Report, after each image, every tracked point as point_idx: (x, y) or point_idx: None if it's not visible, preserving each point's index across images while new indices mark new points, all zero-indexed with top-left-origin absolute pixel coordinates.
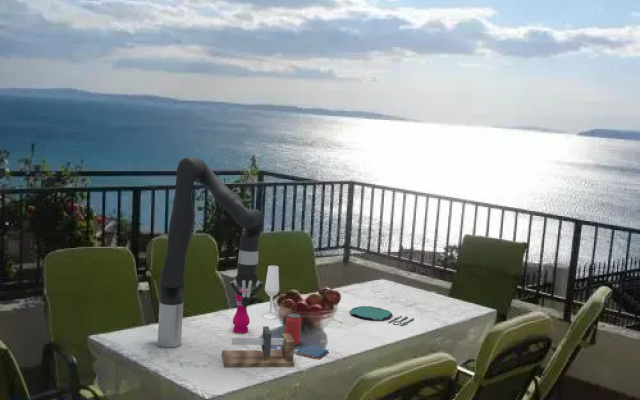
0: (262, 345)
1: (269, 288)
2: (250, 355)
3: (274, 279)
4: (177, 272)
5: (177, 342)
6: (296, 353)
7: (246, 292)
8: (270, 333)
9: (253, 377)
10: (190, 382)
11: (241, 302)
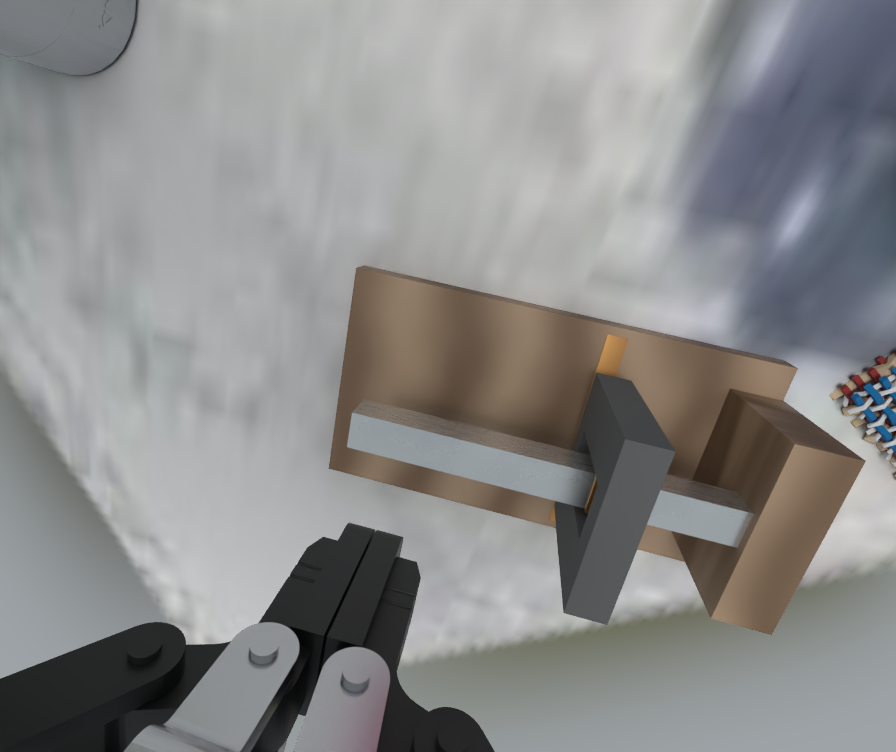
0: (593, 402)
1: None
2: (502, 397)
3: None
4: None
5: (90, 53)
6: (841, 390)
7: (304, 733)
8: (600, 618)
9: (438, 603)
10: (172, 568)
11: (300, 570)
